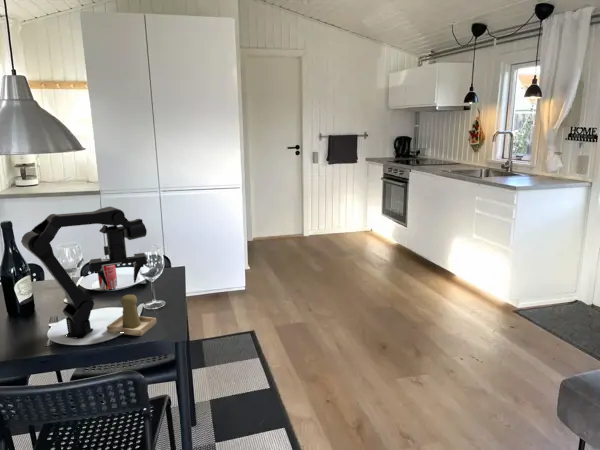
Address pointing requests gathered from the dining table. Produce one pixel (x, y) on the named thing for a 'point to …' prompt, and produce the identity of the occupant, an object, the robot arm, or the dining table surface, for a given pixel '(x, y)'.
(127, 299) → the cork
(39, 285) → the dining table surface
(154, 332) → the dining table surface
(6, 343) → the dining table surface
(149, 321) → the tray
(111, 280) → the soda can
